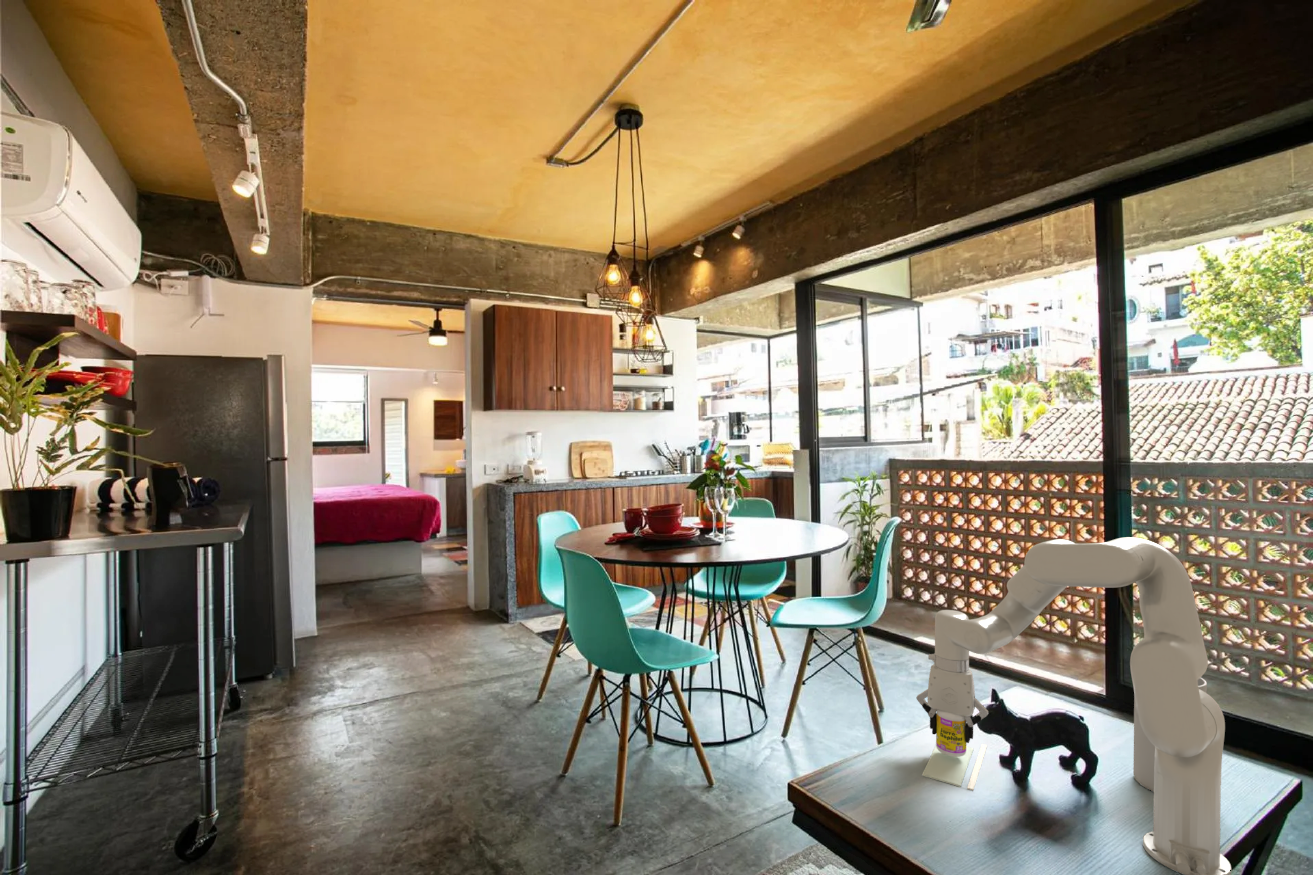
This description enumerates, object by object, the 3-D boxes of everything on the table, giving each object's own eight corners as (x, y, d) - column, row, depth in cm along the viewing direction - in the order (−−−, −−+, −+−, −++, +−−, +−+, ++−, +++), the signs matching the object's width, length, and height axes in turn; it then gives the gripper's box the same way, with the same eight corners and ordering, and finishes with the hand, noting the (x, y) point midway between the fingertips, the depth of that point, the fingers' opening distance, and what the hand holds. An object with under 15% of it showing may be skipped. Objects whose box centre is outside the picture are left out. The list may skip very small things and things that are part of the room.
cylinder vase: (1178, 773, 147) (1179, 666, 146) (1220, 804, 134) (1222, 688, 134) (1120, 769, 148) (1122, 664, 148) (1157, 800, 135) (1159, 685, 135)
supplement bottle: (935, 753, 151) (935, 700, 151) (937, 741, 157) (937, 690, 157) (966, 760, 148) (966, 706, 148) (967, 748, 154) (967, 695, 154)
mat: (960, 786, 140) (960, 784, 140) (922, 775, 145) (922, 773, 145) (973, 749, 157) (973, 748, 157) (938, 740, 161) (938, 739, 161)
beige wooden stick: (973, 790, 139) (973, 789, 139) (967, 788, 140) (967, 787, 140) (987, 746, 159) (987, 744, 159) (981, 744, 159) (981, 743, 159)
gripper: (910, 660, 154) (910, 732, 154) (990, 675, 144) (989, 753, 144) (917, 651, 160) (916, 721, 160) (993, 665, 150) (993, 740, 151)
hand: (951, 735), depth 152 cm, fingers closed on supplement bottle, 6 cm apart
